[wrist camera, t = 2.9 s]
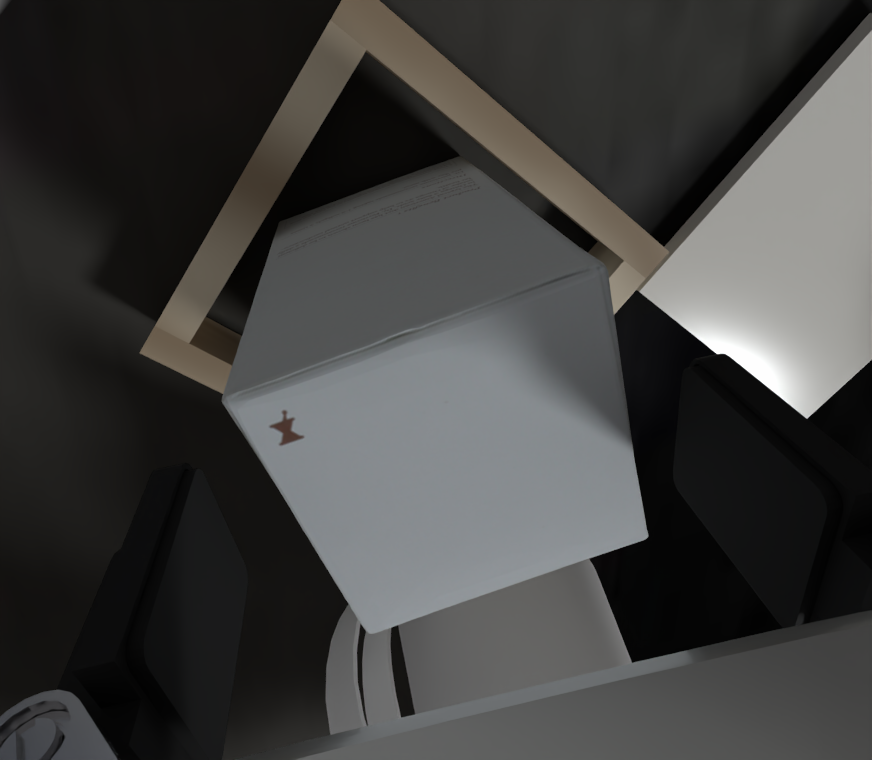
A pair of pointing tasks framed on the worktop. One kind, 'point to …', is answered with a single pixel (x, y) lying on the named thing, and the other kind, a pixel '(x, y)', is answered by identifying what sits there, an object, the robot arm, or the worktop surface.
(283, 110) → the wooden frame
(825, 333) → the tile
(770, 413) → the robot arm
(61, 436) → the worktop surface
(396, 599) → the supplement box
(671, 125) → the worktop surface
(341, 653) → the coffeepot
